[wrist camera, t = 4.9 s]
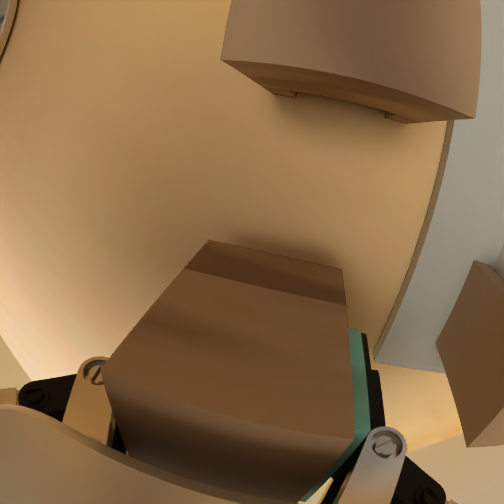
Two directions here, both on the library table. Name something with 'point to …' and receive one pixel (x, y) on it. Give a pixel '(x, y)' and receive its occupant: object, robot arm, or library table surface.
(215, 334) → the block
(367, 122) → the library table surface
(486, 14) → the rail board
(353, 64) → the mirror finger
